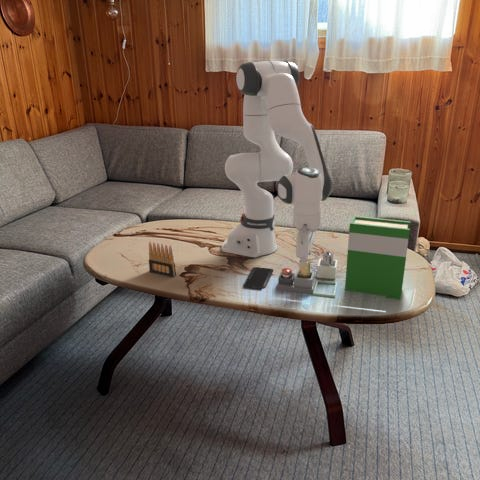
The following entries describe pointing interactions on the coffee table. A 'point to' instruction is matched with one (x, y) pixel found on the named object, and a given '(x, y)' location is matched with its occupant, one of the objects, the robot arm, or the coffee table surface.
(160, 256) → the ammunition clip
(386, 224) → the hardback book
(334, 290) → the pale green rectangular frame
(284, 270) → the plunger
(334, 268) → the white square bin
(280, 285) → the grey socket holder
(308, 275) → the cell
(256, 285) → the phone
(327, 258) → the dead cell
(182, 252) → the coffee table surface
